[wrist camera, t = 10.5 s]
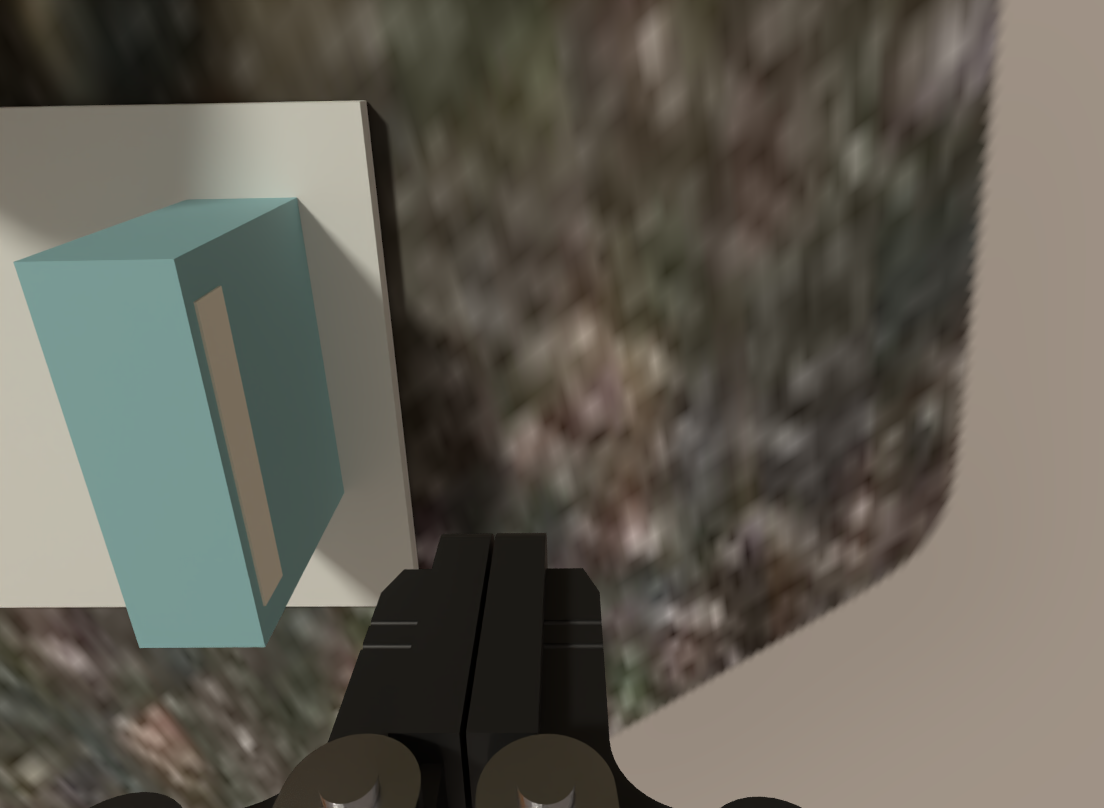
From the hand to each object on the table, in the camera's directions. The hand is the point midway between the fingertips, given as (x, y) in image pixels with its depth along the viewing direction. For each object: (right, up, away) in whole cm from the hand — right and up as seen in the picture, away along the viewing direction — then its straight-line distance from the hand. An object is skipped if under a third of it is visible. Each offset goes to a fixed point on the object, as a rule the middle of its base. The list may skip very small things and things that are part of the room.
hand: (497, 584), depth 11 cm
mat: (-10, +3, +9) cm, 14 cm away
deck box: (-6, +4, +8) cm, 11 cm away
